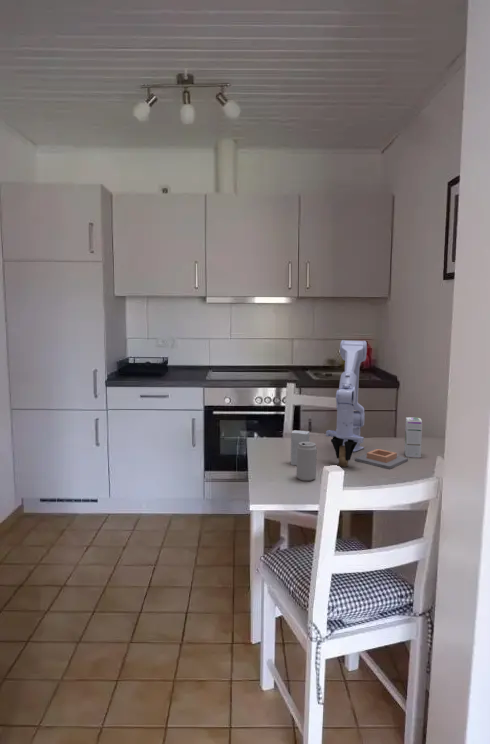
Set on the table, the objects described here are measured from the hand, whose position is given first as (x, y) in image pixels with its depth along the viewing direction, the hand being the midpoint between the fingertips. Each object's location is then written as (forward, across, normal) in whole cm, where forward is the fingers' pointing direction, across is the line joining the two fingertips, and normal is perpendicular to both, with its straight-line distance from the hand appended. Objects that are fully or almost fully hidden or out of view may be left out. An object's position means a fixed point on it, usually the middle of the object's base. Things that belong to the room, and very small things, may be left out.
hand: (343, 458), depth 184 cm
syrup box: (+3, +12, +30) cm, 32 cm away
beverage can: (+3, -1, -21) cm, 21 cm away
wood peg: (+2, 0, 0) cm, 2 cm away
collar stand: (+2, +7, +15) cm, 17 cm away
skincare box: (+3, -12, -10) cm, 16 cm away
